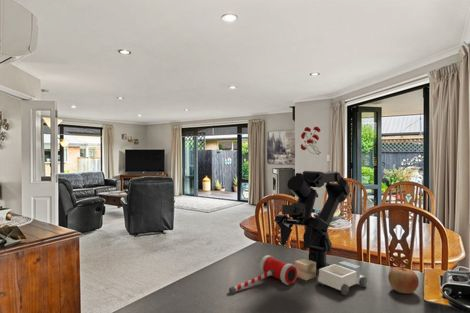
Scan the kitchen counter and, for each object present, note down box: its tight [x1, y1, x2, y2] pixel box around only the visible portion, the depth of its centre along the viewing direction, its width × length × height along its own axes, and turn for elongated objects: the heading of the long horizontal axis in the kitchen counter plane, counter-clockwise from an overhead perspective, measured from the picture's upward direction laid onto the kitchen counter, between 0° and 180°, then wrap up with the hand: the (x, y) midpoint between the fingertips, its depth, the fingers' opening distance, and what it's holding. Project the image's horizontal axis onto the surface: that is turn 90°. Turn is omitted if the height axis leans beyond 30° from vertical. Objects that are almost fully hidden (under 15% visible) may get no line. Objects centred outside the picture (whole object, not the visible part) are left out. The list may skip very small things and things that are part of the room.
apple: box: [387, 264, 420, 294], centre depth 92 cm, size 8×8×8 cm
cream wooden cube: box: [294, 258, 317, 281], centre depth 103 cm, size 5×5×5 cm
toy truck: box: [315, 260, 368, 296], centre depth 96 cm, size 13×10×6 cm
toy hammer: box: [228, 254, 298, 295], centre depth 96 cm, size 23×12×6 cm, turn 128°
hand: (293, 247), depth 99 cm, fingers open, 9 cm apart
